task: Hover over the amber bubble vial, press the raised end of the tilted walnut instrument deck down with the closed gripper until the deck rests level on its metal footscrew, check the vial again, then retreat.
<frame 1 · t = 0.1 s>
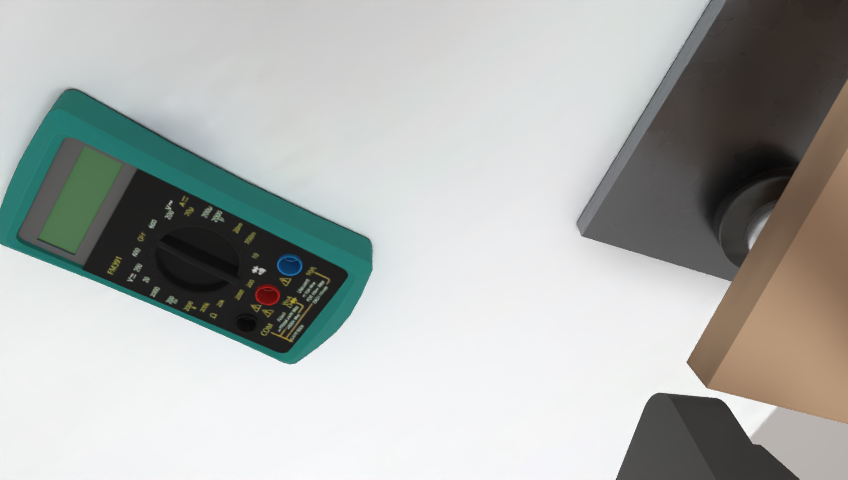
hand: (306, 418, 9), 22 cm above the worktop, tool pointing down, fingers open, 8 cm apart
digital multimeter: (199, 220, 35), on the worktop
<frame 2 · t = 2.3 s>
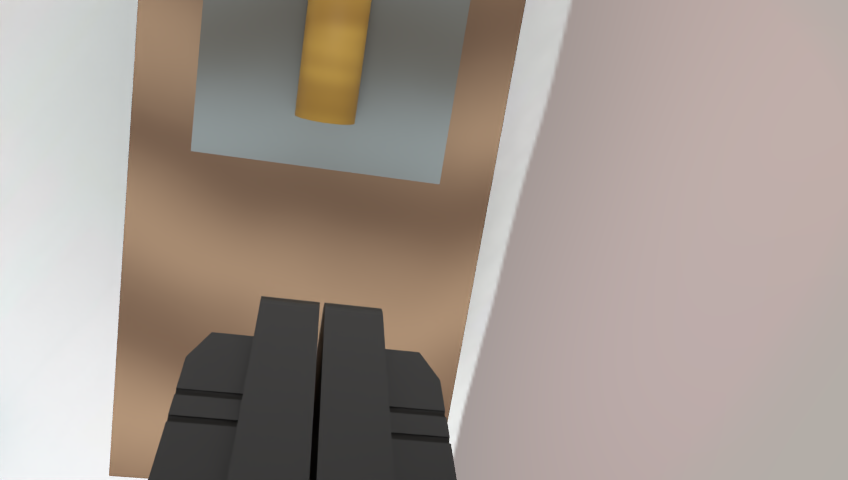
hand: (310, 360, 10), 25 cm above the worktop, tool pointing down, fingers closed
instrument deck: (315, 180, 24), point 11 cm above the worktop, hinge at 12.0°
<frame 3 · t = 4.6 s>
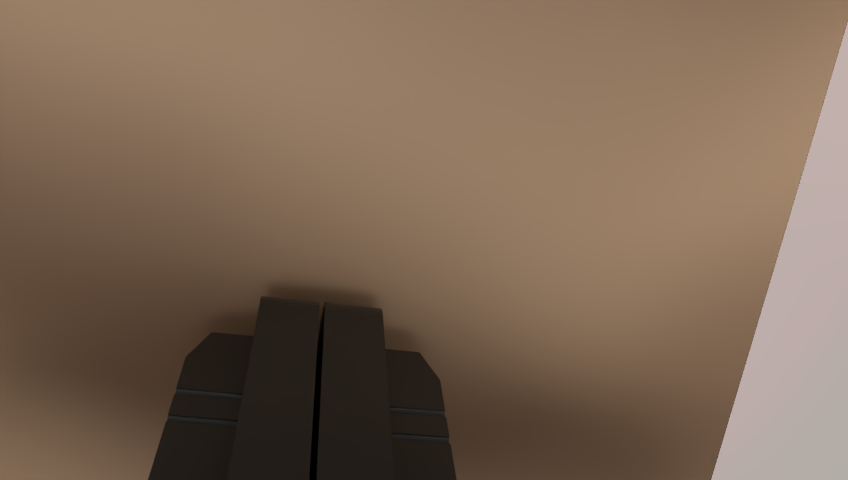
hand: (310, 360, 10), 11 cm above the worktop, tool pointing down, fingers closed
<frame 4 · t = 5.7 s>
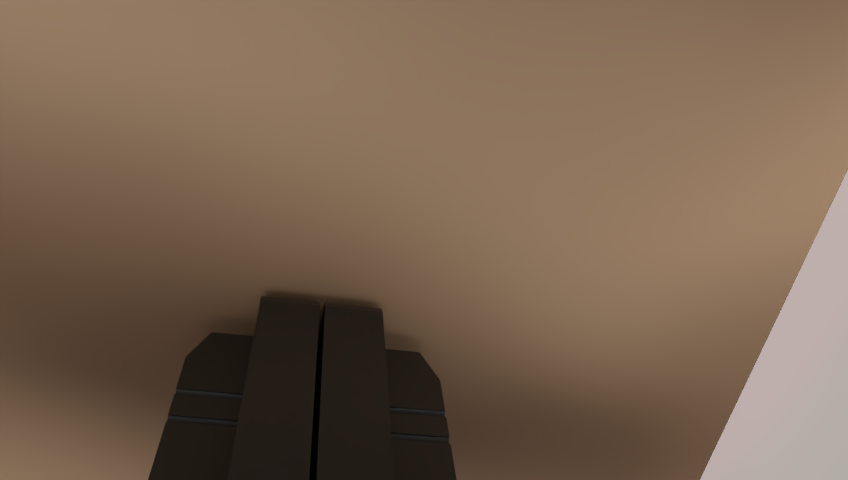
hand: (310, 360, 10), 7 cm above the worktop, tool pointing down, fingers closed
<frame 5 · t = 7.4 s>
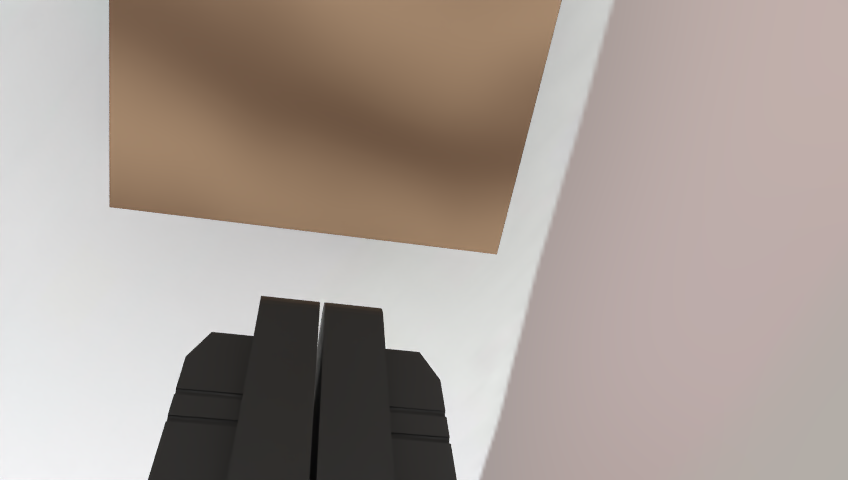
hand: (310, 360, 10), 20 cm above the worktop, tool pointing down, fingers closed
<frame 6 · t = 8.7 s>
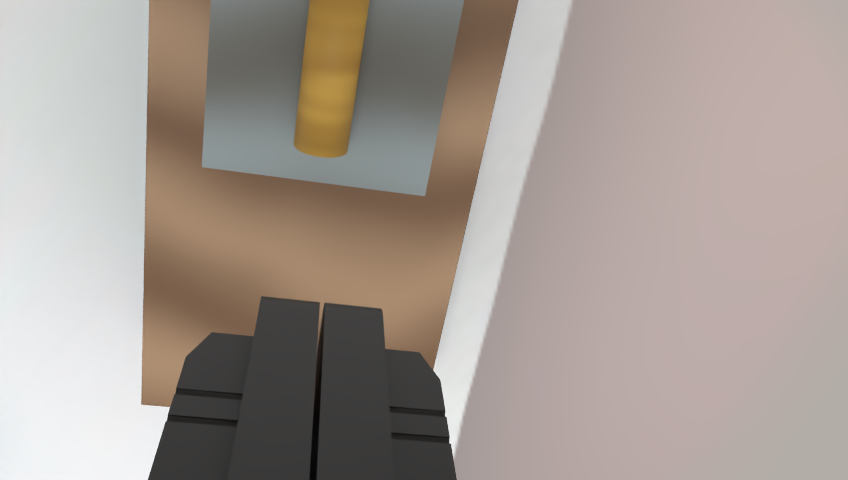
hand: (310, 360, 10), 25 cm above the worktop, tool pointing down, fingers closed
instrument deck: (315, 177, 27), point 8 cm above the worktop, hinge at 0.0°
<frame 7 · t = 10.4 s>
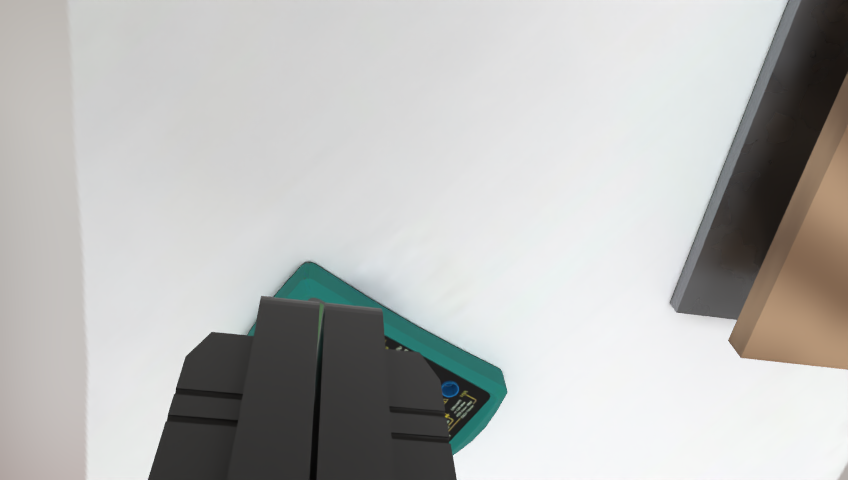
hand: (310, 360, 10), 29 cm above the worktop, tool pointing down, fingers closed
digital multimeter: (374, 354, 46), on the worktop
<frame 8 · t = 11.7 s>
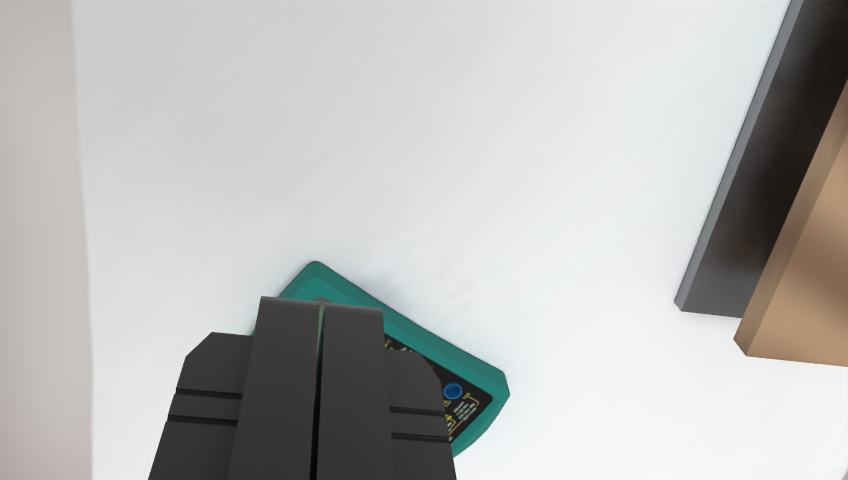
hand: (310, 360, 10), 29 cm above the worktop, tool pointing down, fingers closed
digital multimeter: (378, 354, 46), on the worktop
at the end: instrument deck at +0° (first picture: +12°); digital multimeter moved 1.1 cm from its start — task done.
